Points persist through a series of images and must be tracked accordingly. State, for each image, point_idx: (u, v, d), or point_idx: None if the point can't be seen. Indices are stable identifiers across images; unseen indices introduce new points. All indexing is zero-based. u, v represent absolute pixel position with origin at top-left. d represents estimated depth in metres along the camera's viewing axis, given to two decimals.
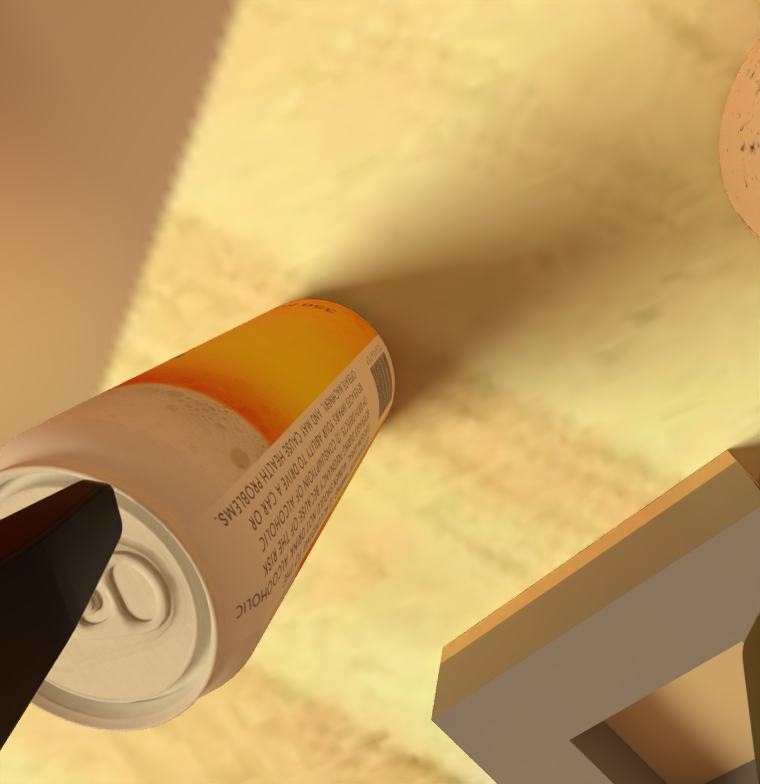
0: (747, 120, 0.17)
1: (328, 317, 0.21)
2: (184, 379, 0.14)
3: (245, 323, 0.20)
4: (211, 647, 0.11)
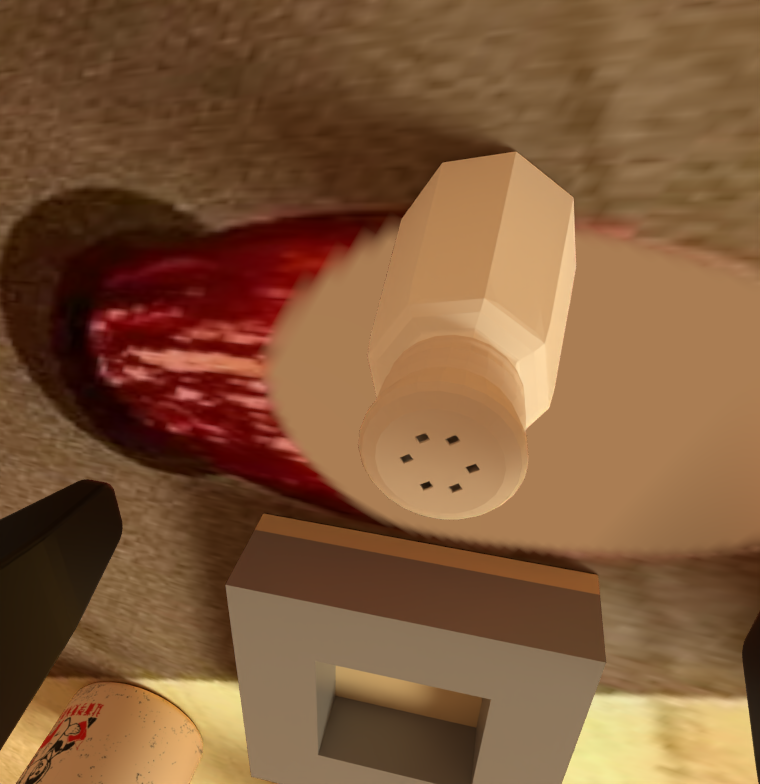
0: None
1: None
2: None
3: None
4: None
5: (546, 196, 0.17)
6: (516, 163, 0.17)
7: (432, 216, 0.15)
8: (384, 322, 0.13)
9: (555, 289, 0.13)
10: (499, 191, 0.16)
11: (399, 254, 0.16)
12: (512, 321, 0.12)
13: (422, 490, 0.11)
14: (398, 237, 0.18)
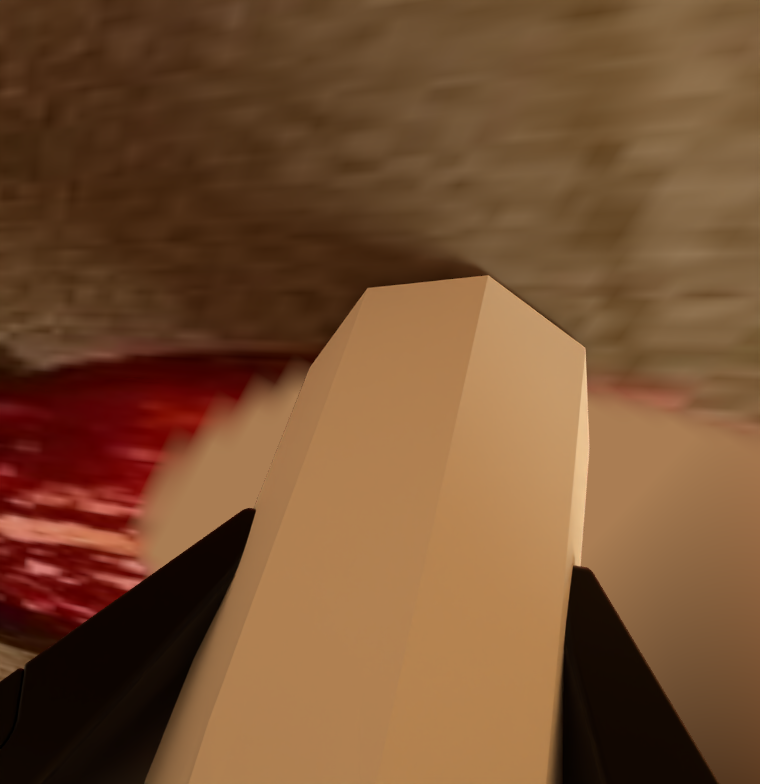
0: None
1: None
2: None
3: None
4: None
5: (539, 366, 0.10)
6: (485, 305, 0.10)
7: (316, 442, 0.08)
8: None
9: (554, 665, 0.06)
10: (449, 385, 0.08)
11: (268, 491, 0.09)
12: None
13: None
14: (290, 420, 0.11)
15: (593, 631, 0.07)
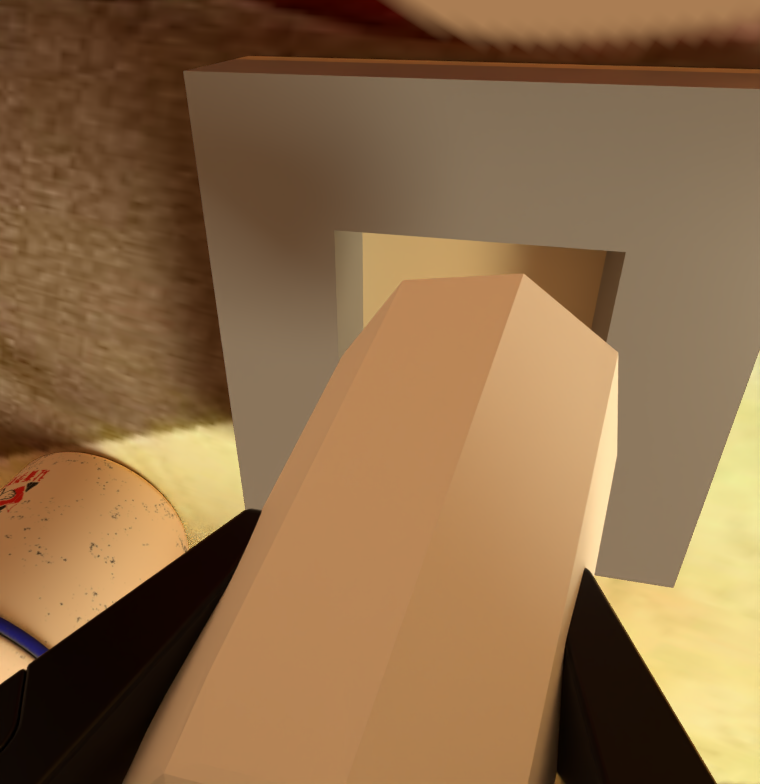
0: None
1: None
2: None
3: None
4: None
5: (567, 366, 0.10)
6: (518, 302, 0.10)
7: (337, 424, 0.08)
8: (156, 734, 0.06)
9: (551, 658, 0.06)
10: (473, 376, 0.08)
11: (289, 470, 0.09)
12: None
13: None
14: (318, 405, 0.11)
15: (590, 630, 0.07)
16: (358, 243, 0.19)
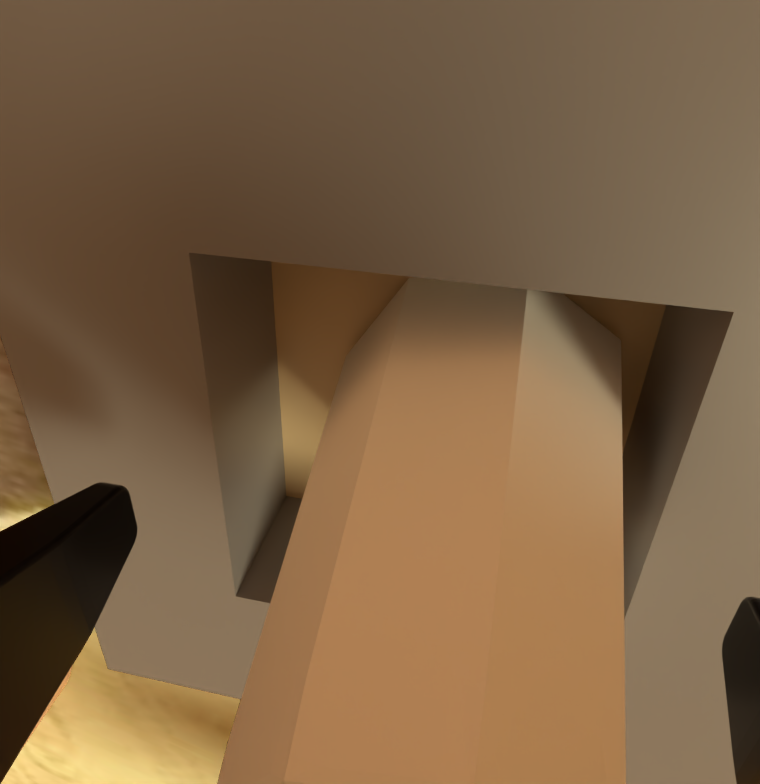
0: None
1: None
2: None
3: None
4: None
5: (582, 355, 0.10)
6: (530, 296, 0.10)
7: (378, 422, 0.08)
8: (248, 744, 0.06)
9: (622, 635, 0.06)
10: (504, 370, 0.09)
11: (323, 471, 0.09)
12: None
13: None
14: (333, 405, 0.11)
15: None
16: (260, 268, 0.11)
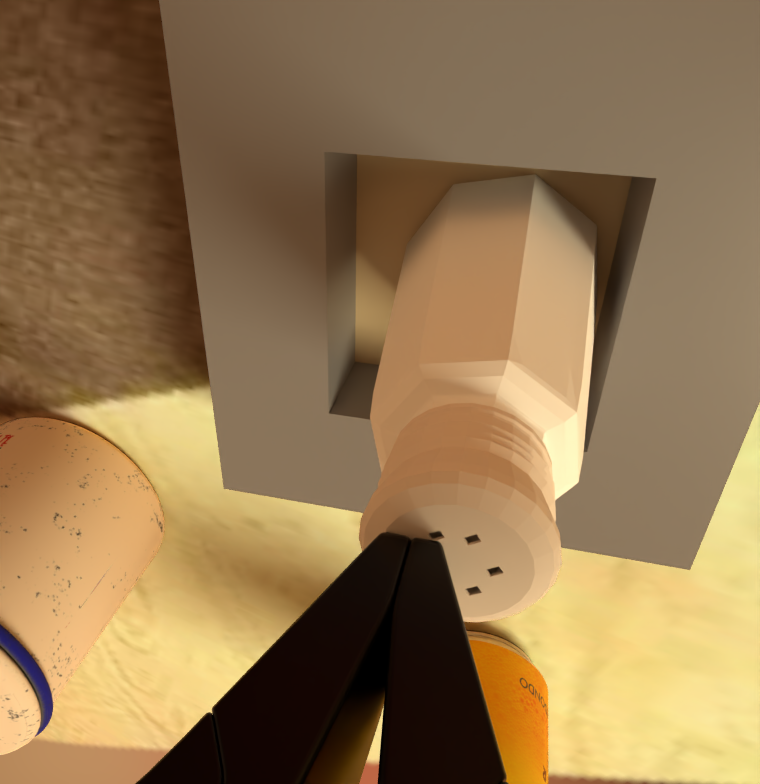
0: None
1: None
2: None
3: None
4: None
5: (569, 226, 0.15)
6: (536, 188, 0.15)
7: (443, 250, 0.14)
8: (390, 378, 0.11)
9: (584, 341, 0.12)
10: (519, 222, 0.14)
11: (406, 289, 0.14)
12: (539, 386, 0.10)
13: None
14: (404, 266, 0.16)
15: (421, 598, 0.07)
16: (352, 178, 0.17)
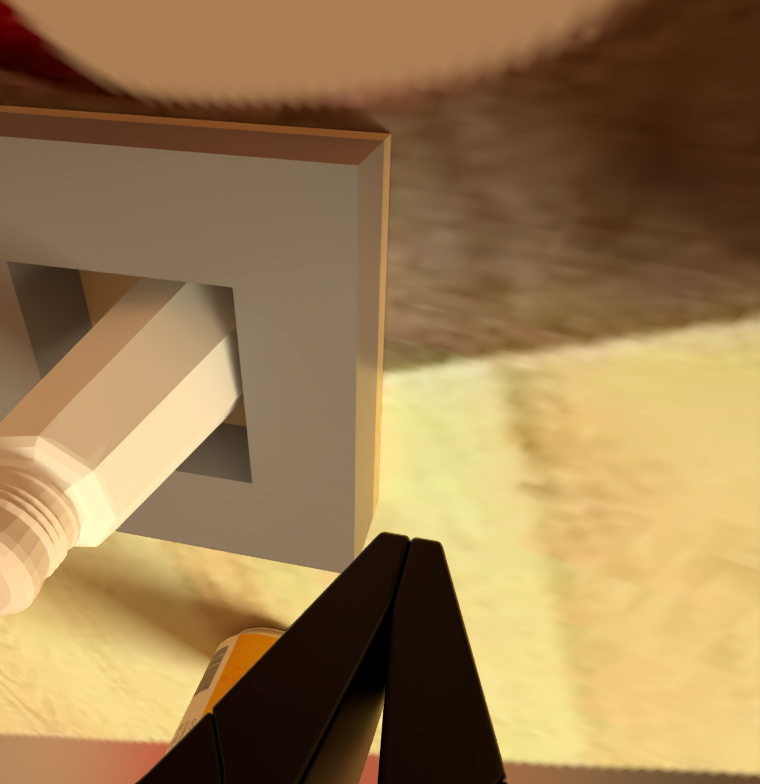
0: None
1: None
2: None
3: None
4: None
5: (212, 312, 0.20)
6: None
7: (84, 338, 0.18)
8: None
9: (149, 413, 0.16)
10: (149, 315, 0.18)
11: None
12: (63, 453, 0.15)
13: None
14: None
15: (421, 598, 0.07)
16: (66, 268, 0.21)
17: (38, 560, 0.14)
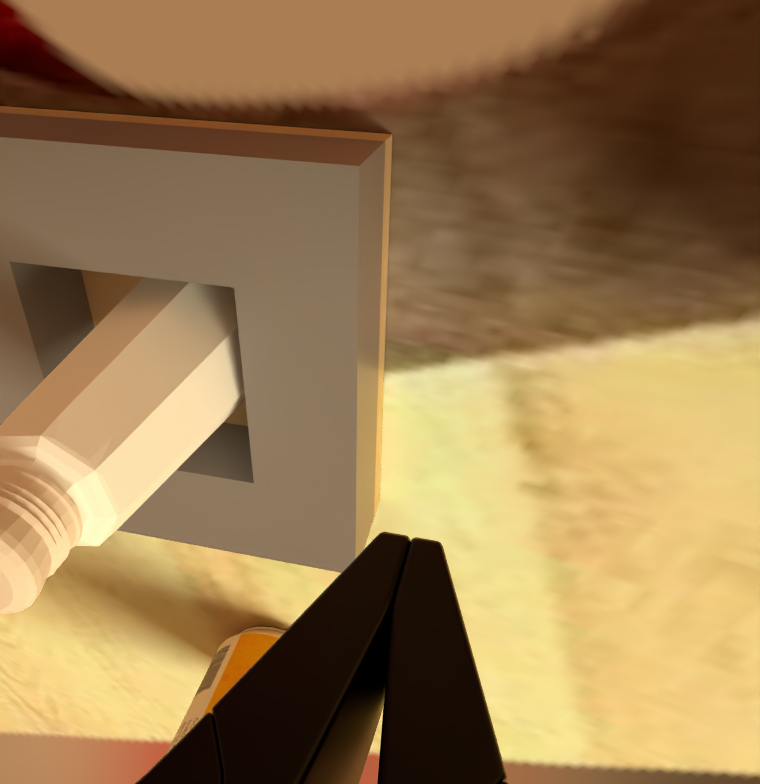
0: None
1: None
2: None
3: None
4: None
5: (213, 312, 0.20)
6: None
7: (86, 338, 0.18)
8: None
9: (150, 412, 0.16)
10: (151, 315, 0.19)
11: None
12: (66, 453, 0.15)
13: None
14: None
15: (421, 598, 0.07)
16: (69, 269, 0.21)
17: (40, 559, 0.14)
